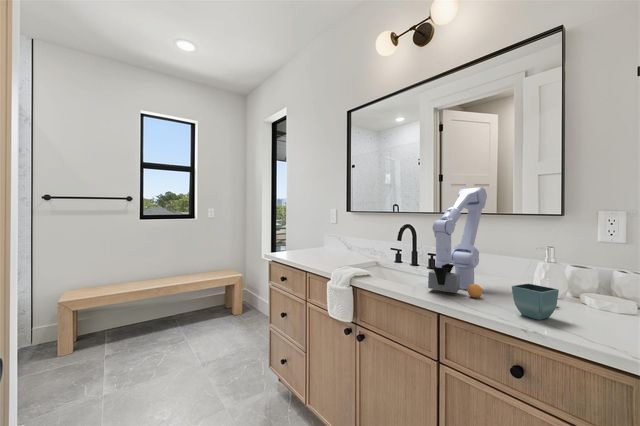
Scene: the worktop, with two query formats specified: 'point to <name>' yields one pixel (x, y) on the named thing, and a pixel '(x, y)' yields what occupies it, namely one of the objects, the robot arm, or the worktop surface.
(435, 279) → the gray rectangular block
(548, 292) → the flower pot
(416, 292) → the worktop surface
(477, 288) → the ball
